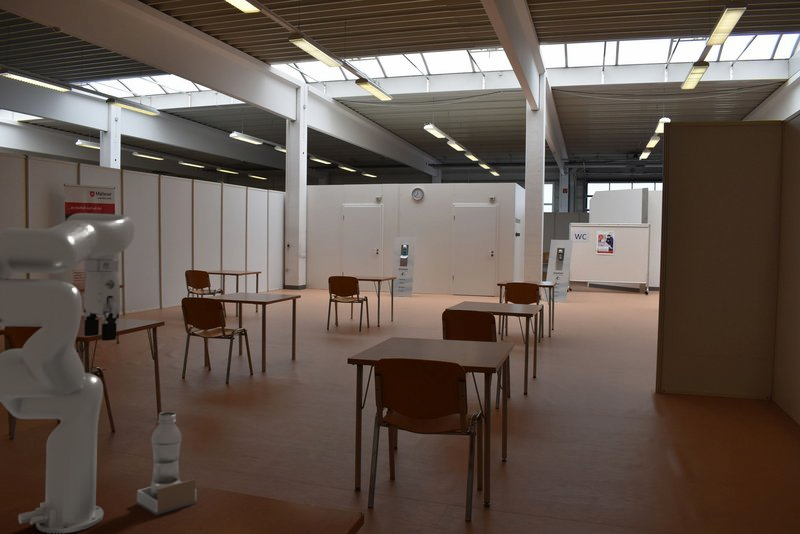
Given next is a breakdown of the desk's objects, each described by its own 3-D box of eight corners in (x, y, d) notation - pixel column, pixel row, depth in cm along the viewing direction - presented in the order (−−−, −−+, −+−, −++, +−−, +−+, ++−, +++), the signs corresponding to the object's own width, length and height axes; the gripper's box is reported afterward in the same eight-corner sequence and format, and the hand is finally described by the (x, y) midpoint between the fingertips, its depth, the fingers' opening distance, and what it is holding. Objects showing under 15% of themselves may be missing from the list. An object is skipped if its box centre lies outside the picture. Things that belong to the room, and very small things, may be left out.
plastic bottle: (171, 507, 139) (173, 418, 138) (143, 504, 140) (145, 416, 140) (186, 496, 145) (188, 411, 145) (159, 493, 146) (161, 409, 146)
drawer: (155, 515, 136) (156, 490, 136) (136, 503, 142) (137, 479, 142) (196, 502, 143) (197, 478, 143) (176, 492, 149) (177, 469, 149)
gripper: (133, 268, 147) (131, 340, 148) (102, 266, 159) (100, 332, 159) (101, 268, 142) (99, 343, 142) (70, 265, 153) (69, 335, 153)
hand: (99, 337), depth 150 cm, fingers open, 9 cm apart
